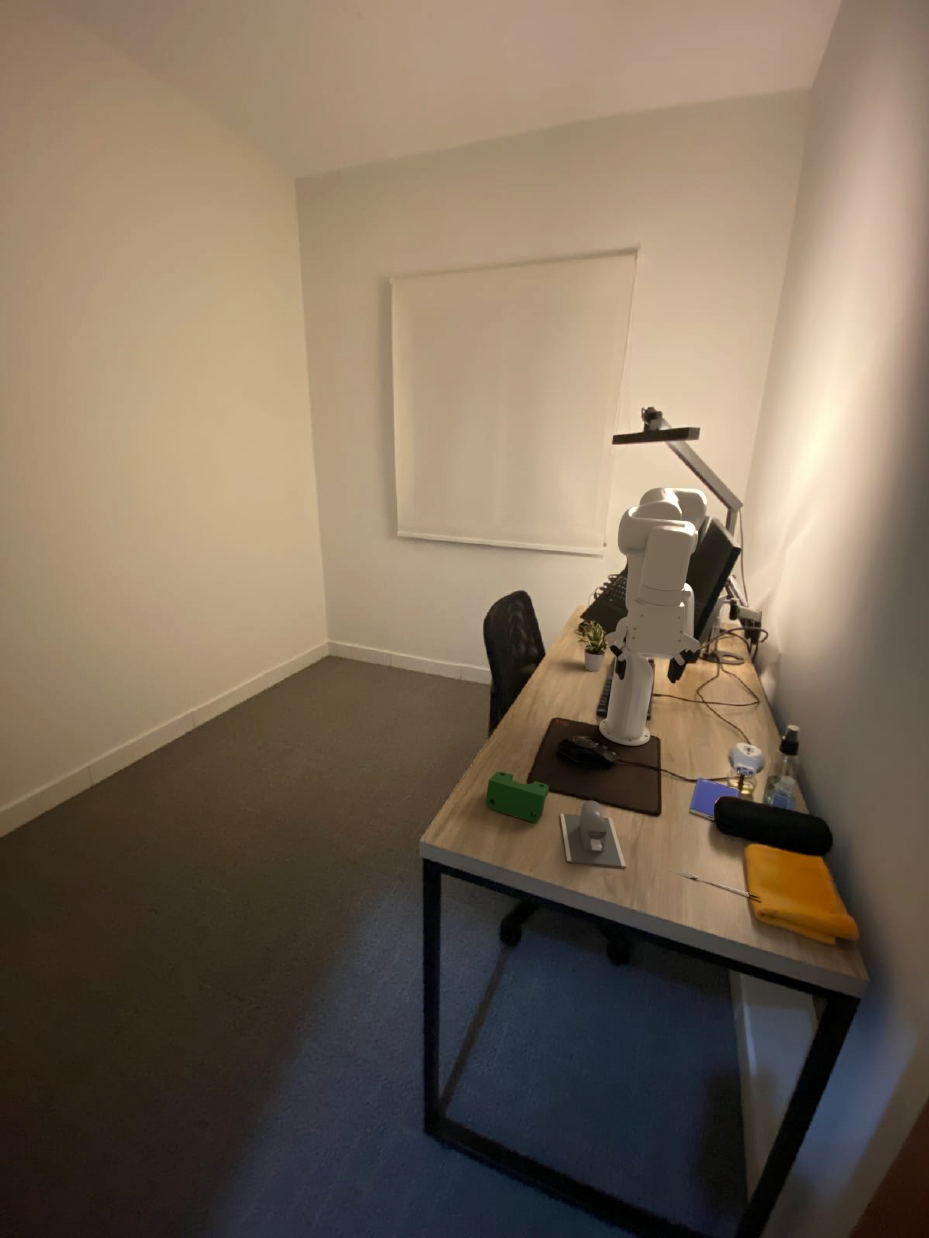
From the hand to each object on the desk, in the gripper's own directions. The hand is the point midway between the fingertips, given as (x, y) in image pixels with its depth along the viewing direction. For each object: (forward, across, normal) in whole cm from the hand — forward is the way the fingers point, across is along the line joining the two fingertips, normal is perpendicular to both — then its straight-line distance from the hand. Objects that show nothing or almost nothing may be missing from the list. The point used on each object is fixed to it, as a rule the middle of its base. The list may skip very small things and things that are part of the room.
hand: (645, 678), depth 96 cm
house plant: (+30, -2, -67) cm, 74 cm away
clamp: (+27, +23, +8) cm, 36 cm away
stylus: (+26, -7, +23) cm, 36 cm away
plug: (+26, +10, +16) cm, 32 cm away
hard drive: (+28, -18, +1) cm, 33 cm away
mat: (+26, +10, +16) cm, 32 cm away
